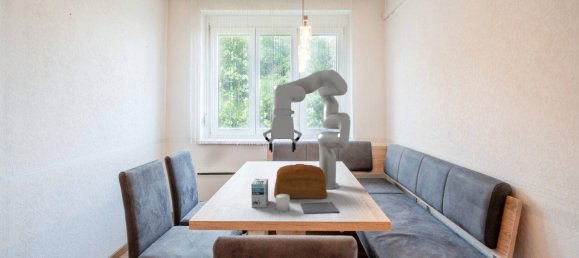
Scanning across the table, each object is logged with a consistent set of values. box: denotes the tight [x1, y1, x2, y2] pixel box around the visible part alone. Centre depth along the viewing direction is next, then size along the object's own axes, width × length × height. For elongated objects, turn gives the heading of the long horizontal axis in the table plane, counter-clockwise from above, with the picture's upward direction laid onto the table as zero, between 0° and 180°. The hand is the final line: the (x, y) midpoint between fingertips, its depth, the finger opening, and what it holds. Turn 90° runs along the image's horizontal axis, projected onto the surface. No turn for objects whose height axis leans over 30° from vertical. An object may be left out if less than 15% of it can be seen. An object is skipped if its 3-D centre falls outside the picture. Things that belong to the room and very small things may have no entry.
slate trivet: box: [299, 201, 340, 215], centre depth 121 cm, size 12×15×1 cm
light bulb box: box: [250, 178, 269, 209], centre depth 126 cm, size 11×7×11 cm, turn 179°
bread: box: [273, 163, 328, 199], centre depth 140 cm, size 16×27×16 cm, turn 90°
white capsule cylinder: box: [275, 194, 291, 213], centre depth 119 cm, size 6×6×6 cm
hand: (282, 151), depth 121 cm, fingers open, 9 cm apart
